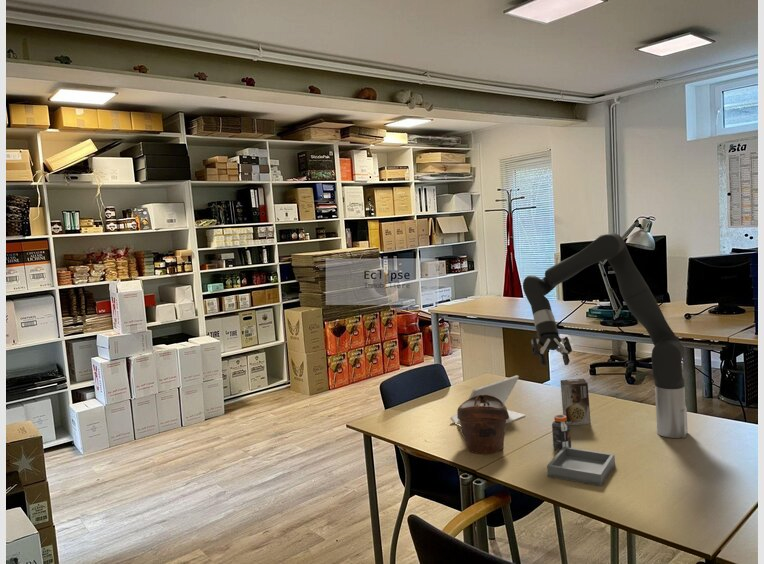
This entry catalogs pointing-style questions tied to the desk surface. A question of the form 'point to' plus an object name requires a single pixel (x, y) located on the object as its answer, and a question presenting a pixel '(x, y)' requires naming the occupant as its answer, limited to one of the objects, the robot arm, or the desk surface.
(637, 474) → the desk surface
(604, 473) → the tray
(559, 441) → the pill bottle
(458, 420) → the tablet stand
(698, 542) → the desk surface
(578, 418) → the coffee box
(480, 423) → the brown tapered container
